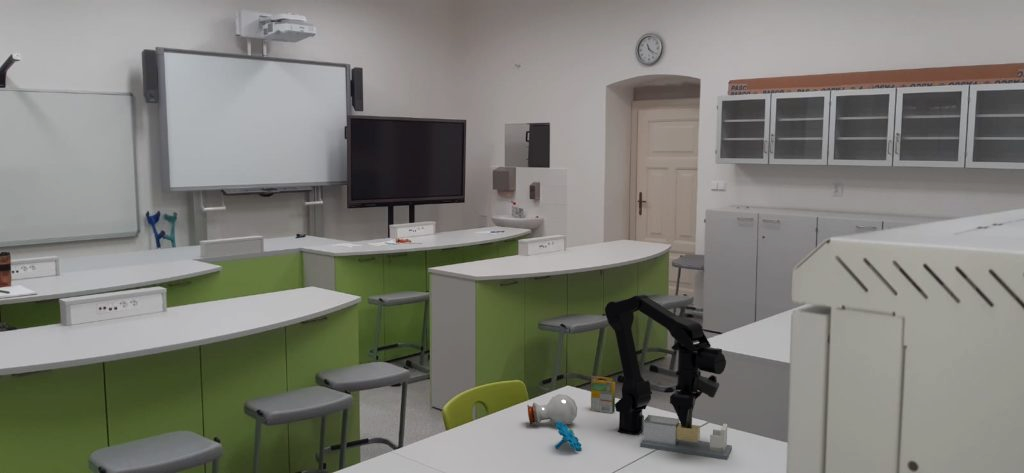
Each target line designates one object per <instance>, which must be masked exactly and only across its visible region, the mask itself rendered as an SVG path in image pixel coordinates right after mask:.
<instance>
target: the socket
mask: <svg viewBox="0 0 1024 473" xmlns="http://www.w3.org/2000/svg"><path fill="white" fill-rule="evenodd" d="M709 442H710V452H717V453H724V452H725V449H726V447H727V445H728V424H727V423H723V425H722V427H721V429H715V428H713V429H712V434H710V435H709Z"/></svg>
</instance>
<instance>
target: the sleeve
mask: <svg viewBox="0 0 1024 473" xmlns="http://www.w3.org/2000/svg"><path fill="white" fill-rule="evenodd" d="M678 423H680V420H679V418H674V417H666V416H659V415H652V414H647V416H646V417H645V418H644V429H643V439H644V442H650V443H657V444H664V445H670V446H676V444H677V442H678V441H679V440H678V439H676V426H677V424H678Z"/></svg>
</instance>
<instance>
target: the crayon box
mask: <svg viewBox="0 0 1024 473" xmlns="http://www.w3.org/2000/svg"><path fill="white" fill-rule="evenodd" d="M600 379H602V380H600ZM613 380H614V378H612V377H607V376H606V377H605V376H598V375H597V376H596V375H591V383H590V384H591V387H590V388H591V389H590V411H591V410H593V411H592V412H598V411H599V413H605V414H606V413H607V414H611V415H612V414H613V413H614V412H615V411H616V408H615V404H616V382H615V381H613Z"/></svg>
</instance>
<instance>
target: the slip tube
mask: <svg viewBox="0 0 1024 473" xmlns="http://www.w3.org/2000/svg"><path fill="white" fill-rule="evenodd" d="M700 438H701V425H696V424H693V412H692V408H690V409H689V413H688V418H687V423H686V426H682V425H681V423H680V422H679V423H678V424H677V426H676V439H678V440H685V441H692V442H698V441H700Z"/></svg>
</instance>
